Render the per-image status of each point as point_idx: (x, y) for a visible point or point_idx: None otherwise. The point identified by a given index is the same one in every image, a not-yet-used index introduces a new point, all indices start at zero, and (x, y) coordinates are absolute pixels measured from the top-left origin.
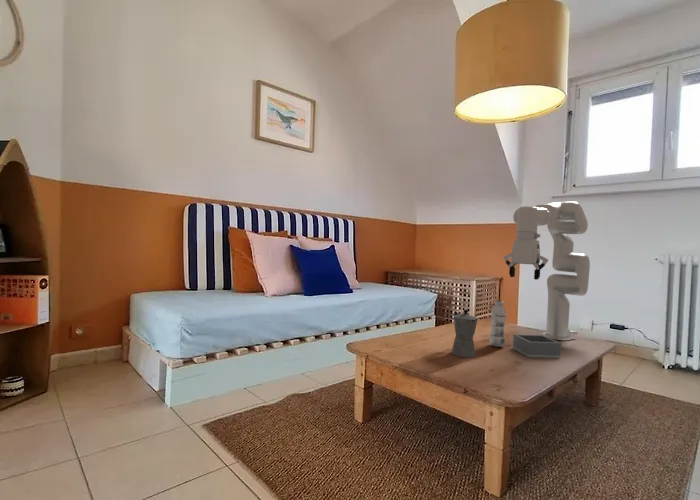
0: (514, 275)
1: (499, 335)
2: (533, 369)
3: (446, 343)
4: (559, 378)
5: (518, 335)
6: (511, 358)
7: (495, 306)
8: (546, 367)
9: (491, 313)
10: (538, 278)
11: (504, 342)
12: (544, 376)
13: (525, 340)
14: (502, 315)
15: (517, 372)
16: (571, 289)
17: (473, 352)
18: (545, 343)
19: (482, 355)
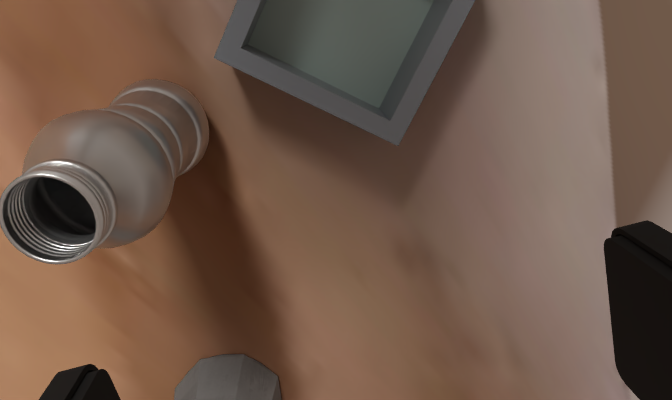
0: (98, 390)
1: (189, 163)
2: (507, 272)
3: (41, 351)
4: None
5: (243, 40)
6: (363, 233)
7: (64, 235)
8: (522, 190)
9: (75, 233)
10: (650, 231)
11: (204, 113)
12: (575, 303)
13: (361, 128)
14: (168, 202)
15: (495, 363)
16: None
17: (276, 397)
18: (450, 44)
19: (274, 329)
